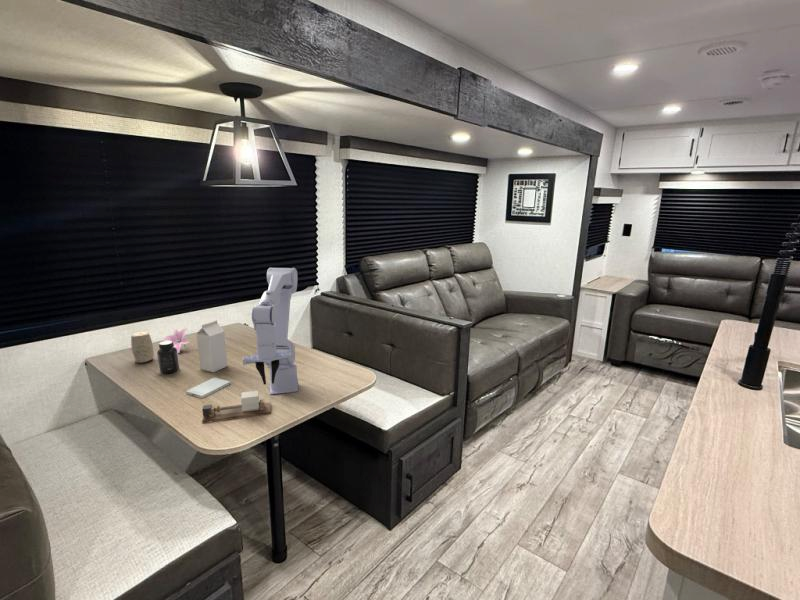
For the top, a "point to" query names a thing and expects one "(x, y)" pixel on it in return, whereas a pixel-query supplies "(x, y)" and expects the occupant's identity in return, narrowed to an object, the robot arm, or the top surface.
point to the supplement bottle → (168, 358)
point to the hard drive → (207, 387)
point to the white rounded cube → (250, 401)
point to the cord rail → (232, 412)
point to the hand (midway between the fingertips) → (268, 382)
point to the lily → (178, 338)
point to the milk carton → (211, 347)
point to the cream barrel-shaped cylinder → (142, 347)
